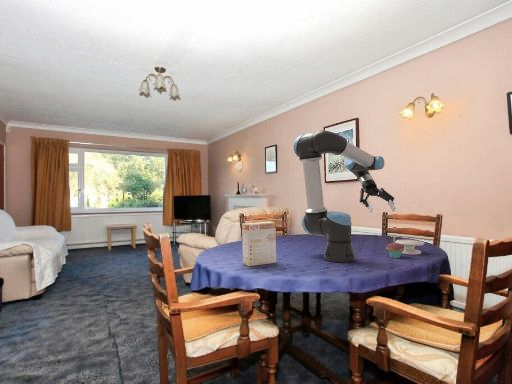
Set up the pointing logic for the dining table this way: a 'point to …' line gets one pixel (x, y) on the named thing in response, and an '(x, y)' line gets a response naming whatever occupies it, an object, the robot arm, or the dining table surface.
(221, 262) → the dining table surface
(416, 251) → the cake stand
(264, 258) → the coffeecake box
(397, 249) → the cupcake
